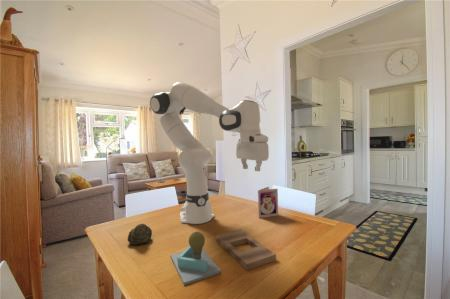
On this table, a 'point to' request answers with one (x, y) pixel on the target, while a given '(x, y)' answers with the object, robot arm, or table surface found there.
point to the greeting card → (268, 202)
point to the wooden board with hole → (249, 256)
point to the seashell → (140, 234)
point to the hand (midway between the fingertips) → (251, 169)
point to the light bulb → (196, 244)
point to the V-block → (193, 266)
